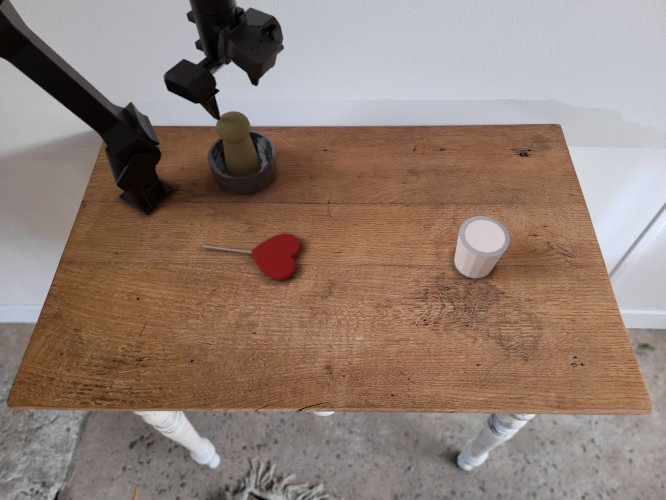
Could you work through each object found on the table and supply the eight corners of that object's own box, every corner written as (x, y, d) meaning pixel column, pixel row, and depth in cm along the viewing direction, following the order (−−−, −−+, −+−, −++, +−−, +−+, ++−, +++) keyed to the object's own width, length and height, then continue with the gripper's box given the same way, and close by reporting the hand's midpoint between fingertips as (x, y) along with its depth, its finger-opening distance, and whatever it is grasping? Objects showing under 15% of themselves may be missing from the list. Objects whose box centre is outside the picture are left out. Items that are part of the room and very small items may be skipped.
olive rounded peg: (219, 176, 81) (203, 126, 72) (236, 151, 84) (223, 101, 75) (251, 186, 80) (239, 136, 71) (267, 161, 83) (258, 110, 74)
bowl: (200, 179, 82) (193, 160, 78) (241, 140, 87) (236, 121, 83) (251, 206, 79) (246, 188, 75) (290, 164, 84) (288, 145, 80)
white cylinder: (501, 252, 73) (515, 224, 67) (489, 288, 70) (503, 263, 64) (457, 236, 75) (467, 209, 69) (443, 272, 71) (452, 245, 65)
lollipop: (194, 270, 72) (292, 283, 71) (193, 267, 71) (292, 280, 70) (210, 226, 77) (303, 237, 75) (209, 223, 76) (302, 234, 74)
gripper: (212, 63, 55) (238, 159, 68) (306, -13, 63) (313, 86, 76) (143, 33, 59) (180, 130, 72) (241, -36, 67) (258, 62, 80)
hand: (236, 101), depth 75 cm, fingers open, 9 cm apart
